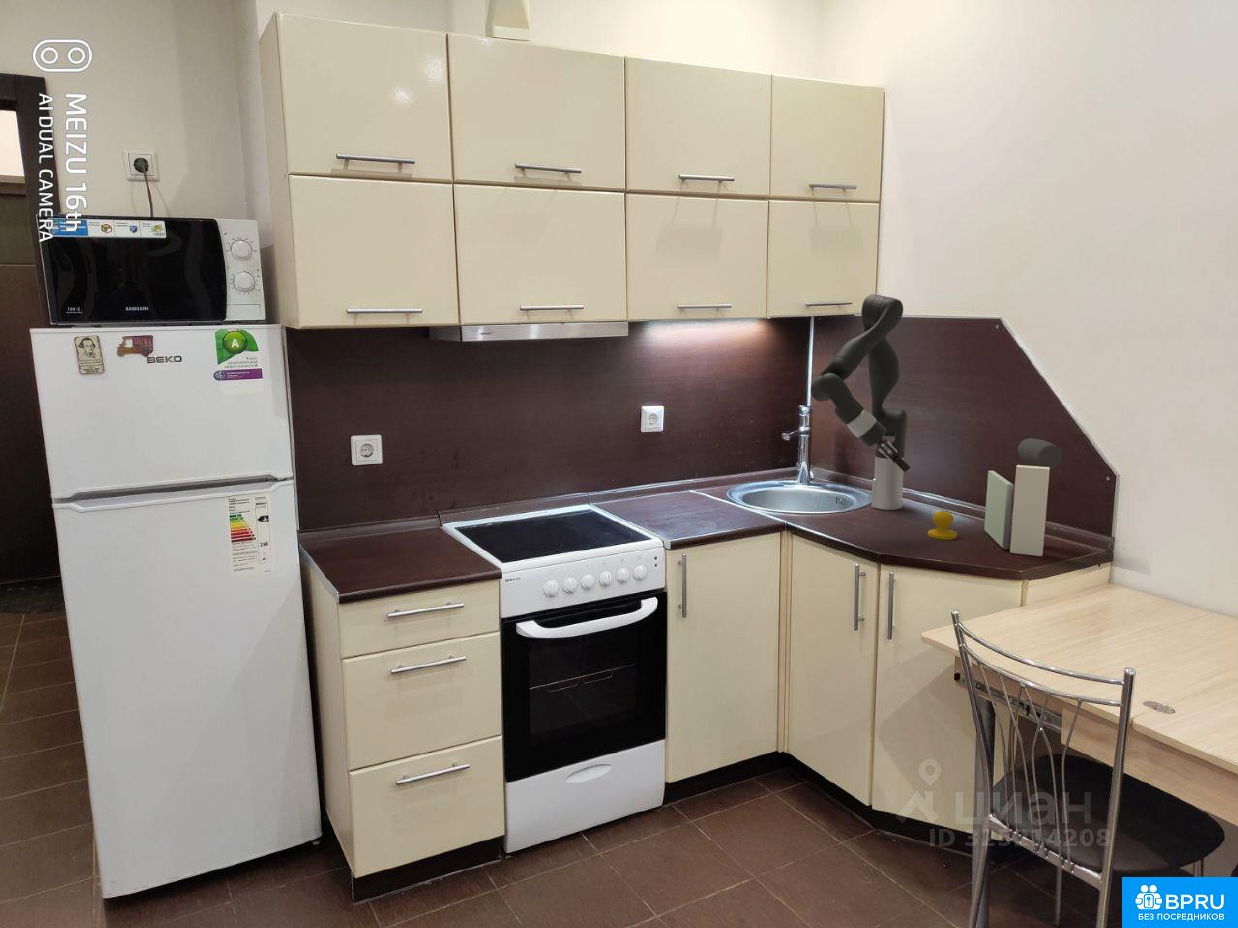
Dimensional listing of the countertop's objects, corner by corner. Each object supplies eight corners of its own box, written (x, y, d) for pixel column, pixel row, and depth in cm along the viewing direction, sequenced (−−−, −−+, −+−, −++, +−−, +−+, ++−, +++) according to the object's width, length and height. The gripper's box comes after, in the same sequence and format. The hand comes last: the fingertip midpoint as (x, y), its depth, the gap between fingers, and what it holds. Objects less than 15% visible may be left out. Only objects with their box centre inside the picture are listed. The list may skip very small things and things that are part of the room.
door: (983, 529, 264) (987, 470, 261) (990, 529, 264) (994, 470, 261) (1003, 549, 244) (1008, 485, 241) (1010, 549, 244) (1015, 485, 240)
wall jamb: (1009, 552, 243) (1016, 466, 239) (1010, 549, 246) (1017, 464, 241) (1042, 556, 239) (1049, 469, 235) (1042, 553, 242) (1049, 467, 237)
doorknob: (953, 533, 264) (959, 540, 256) (925, 532, 265) (930, 539, 257) (955, 508, 262) (960, 515, 255) (927, 507, 264) (931, 514, 256)
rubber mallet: (1008, 538, 257) (1016, 436, 251) (1033, 538, 257) (1042, 436, 251) (1030, 550, 244) (1038, 443, 239) (1056, 550, 245) (1065, 443, 239)
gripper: (878, 421, 251) (921, 464, 251) (872, 415, 263) (913, 456, 264) (858, 439, 252) (901, 482, 253) (853, 433, 265) (893, 473, 266)
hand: (907, 469), depth 258 cm, fingers closed
